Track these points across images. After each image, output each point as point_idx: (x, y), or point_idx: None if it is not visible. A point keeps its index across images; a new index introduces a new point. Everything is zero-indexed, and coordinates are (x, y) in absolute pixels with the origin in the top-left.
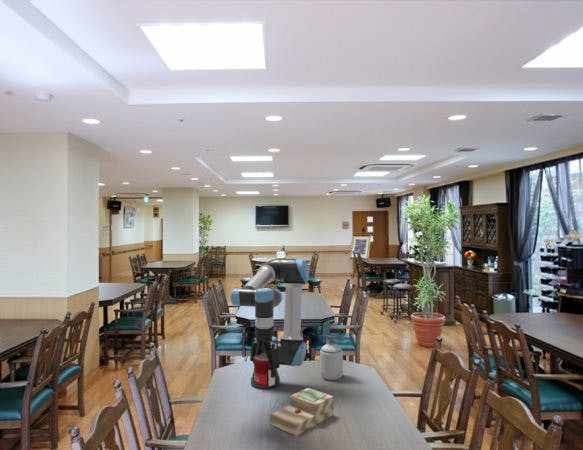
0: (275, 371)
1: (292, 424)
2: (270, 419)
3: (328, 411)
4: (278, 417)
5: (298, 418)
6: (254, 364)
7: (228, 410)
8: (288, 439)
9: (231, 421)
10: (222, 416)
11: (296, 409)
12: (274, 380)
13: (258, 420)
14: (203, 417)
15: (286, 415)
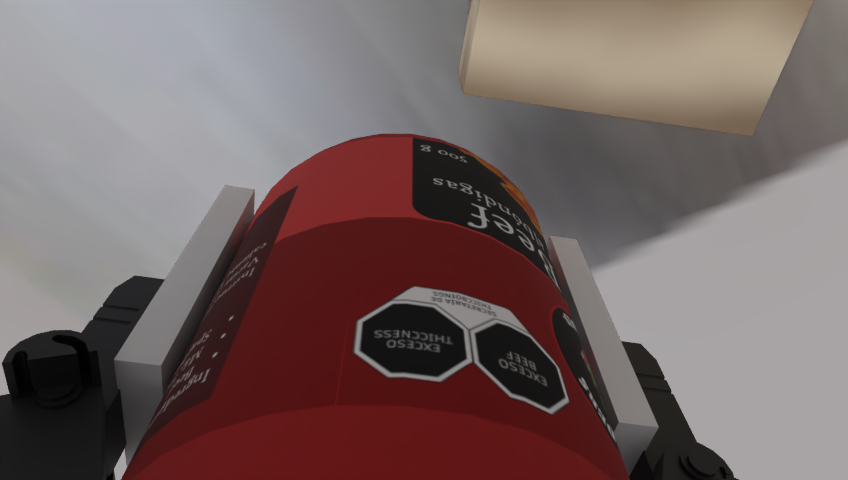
0: (686, 424)
1: (713, 130)
2: (460, 80)
3: None
4: (556, 101)
5: (732, 16)
6: (127, 461)
7: (15, 74)
8: (680, 171)
9: (196, 193)
10: (82, 174)
11: None
12: (588, 277)
13: (339, 72)
14: (8, 251)
15: (603, 29)
